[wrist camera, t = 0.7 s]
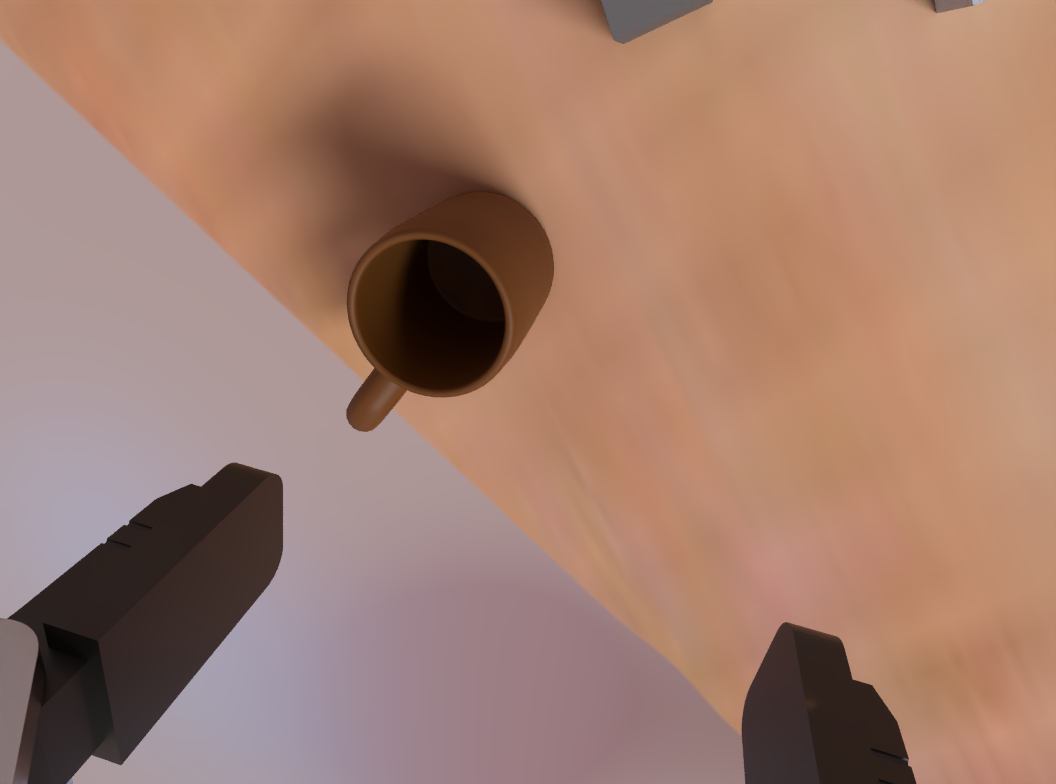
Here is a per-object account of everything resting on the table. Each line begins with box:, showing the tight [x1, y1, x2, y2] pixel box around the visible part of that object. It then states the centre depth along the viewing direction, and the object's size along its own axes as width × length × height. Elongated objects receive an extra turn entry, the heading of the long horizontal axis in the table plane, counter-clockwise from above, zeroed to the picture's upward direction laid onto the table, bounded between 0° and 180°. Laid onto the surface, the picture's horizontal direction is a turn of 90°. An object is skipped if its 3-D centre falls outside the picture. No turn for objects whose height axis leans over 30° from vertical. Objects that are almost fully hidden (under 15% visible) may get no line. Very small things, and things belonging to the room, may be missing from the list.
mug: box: [347, 192, 554, 432], centre depth 33 cm, size 12×8×9 cm, turn 144°
